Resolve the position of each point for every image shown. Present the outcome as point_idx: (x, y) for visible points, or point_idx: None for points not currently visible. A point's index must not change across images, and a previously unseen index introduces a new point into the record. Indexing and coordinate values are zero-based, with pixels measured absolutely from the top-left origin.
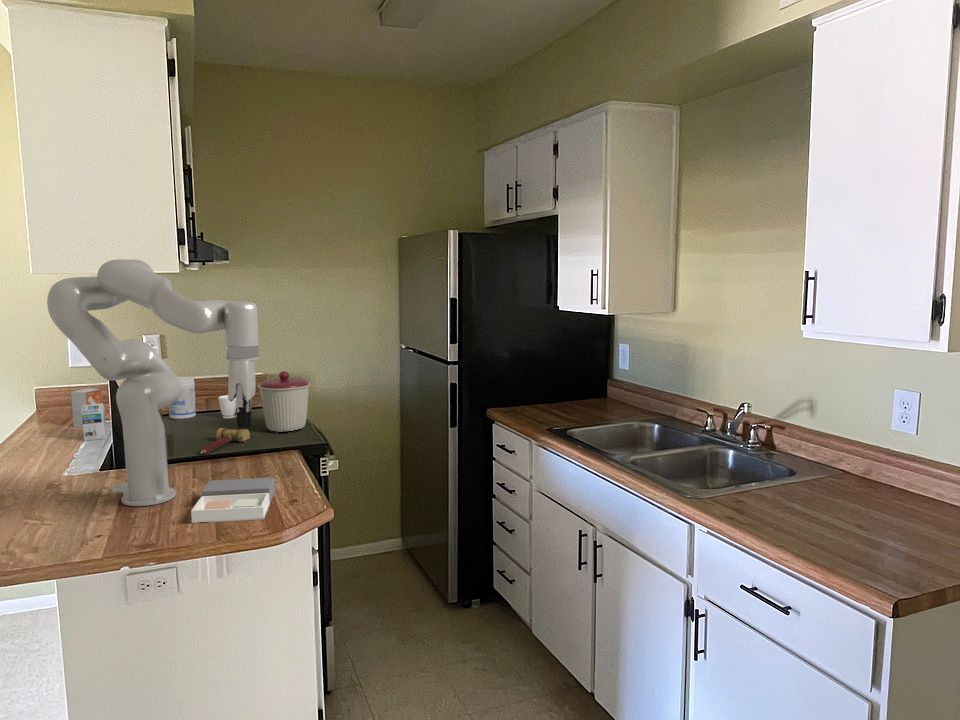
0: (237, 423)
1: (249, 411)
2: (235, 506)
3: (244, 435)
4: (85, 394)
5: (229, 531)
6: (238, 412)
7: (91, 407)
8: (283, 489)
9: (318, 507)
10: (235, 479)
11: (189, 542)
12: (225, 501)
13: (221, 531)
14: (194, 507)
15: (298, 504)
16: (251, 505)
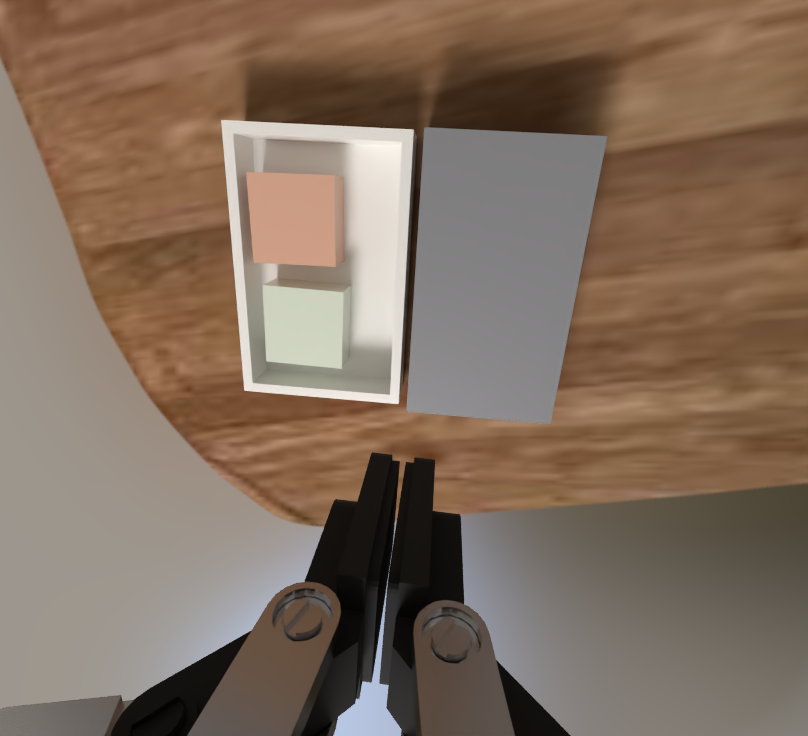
0: (367, 475)
1: (358, 688)
2: (264, 296)
3: None
4: None
5: (164, 279)
6: (336, 586)
7: None
8: (563, 424)
9: None
10: (578, 267)
11: (69, 158)
12: (328, 250)
13: (165, 253)
14: (262, 126)
15: None
16: (268, 351)
